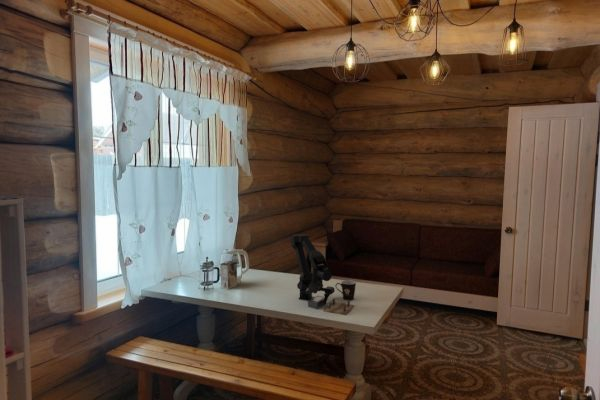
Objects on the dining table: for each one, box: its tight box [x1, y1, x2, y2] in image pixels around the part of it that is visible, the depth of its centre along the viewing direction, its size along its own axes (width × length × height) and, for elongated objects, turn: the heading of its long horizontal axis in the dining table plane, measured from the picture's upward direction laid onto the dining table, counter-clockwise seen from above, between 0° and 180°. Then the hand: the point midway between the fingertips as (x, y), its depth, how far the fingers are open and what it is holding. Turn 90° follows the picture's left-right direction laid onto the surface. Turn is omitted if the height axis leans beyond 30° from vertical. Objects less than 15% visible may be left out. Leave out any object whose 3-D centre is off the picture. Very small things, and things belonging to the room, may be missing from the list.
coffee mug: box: [335, 279, 357, 301], centre depth 243 cm, size 12×9×10 cm
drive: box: [307, 295, 328, 310], centre depth 231 cm, size 6×10×4 cm, turn 145°
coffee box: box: [219, 260, 238, 290], centre depth 264 cm, size 9×6×16 cm
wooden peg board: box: [323, 298, 355, 316], centre depth 225 cm, size 13×14×4 cm
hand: (317, 303), depth 231 cm, fingers open, 9 cm apart
